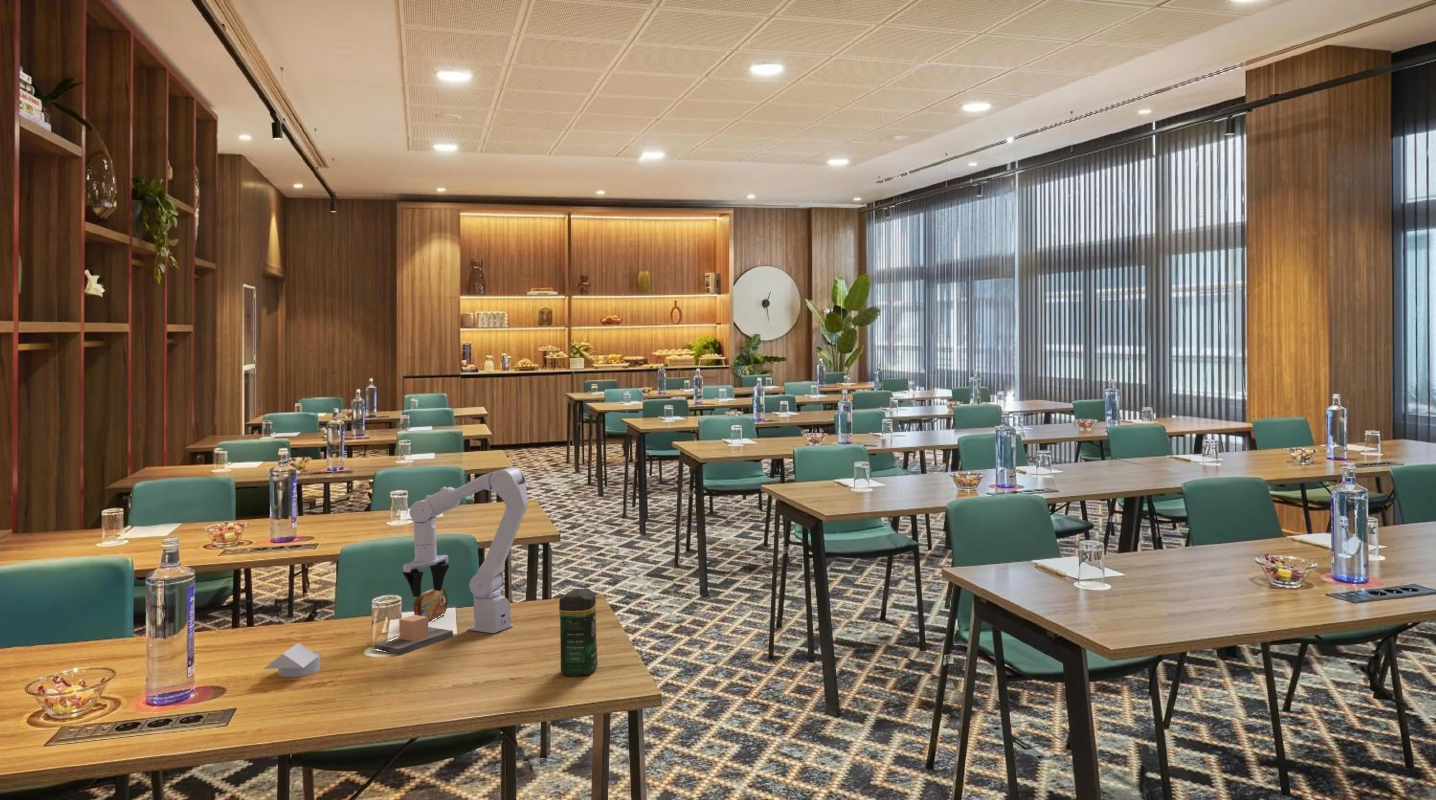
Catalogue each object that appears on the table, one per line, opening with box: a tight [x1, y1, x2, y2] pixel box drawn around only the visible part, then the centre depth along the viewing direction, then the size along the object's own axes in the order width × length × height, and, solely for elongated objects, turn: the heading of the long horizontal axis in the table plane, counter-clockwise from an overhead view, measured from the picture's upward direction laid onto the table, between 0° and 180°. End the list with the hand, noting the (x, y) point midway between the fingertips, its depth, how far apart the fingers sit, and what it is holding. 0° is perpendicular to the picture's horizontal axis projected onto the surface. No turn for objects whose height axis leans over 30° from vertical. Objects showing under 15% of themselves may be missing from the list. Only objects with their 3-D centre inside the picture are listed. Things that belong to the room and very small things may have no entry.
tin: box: [413, 587, 448, 623], centre depth 273 cm, size 15×3×8 cm, turn 168°
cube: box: [398, 614, 429, 641], centre depth 249 cm, size 5×5×5 cm
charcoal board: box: [373, 626, 454, 656], centre depth 250 cm, size 9×18×2 cm, turn 150°
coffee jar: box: [558, 588, 598, 677], centre depth 223 cm, size 10×8×19 cm
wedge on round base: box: [263, 642, 321, 678], centre depth 227 cm, size 9×7×13 cm
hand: (427, 593), depth 264 cm, fingers open, 7 cm apart
